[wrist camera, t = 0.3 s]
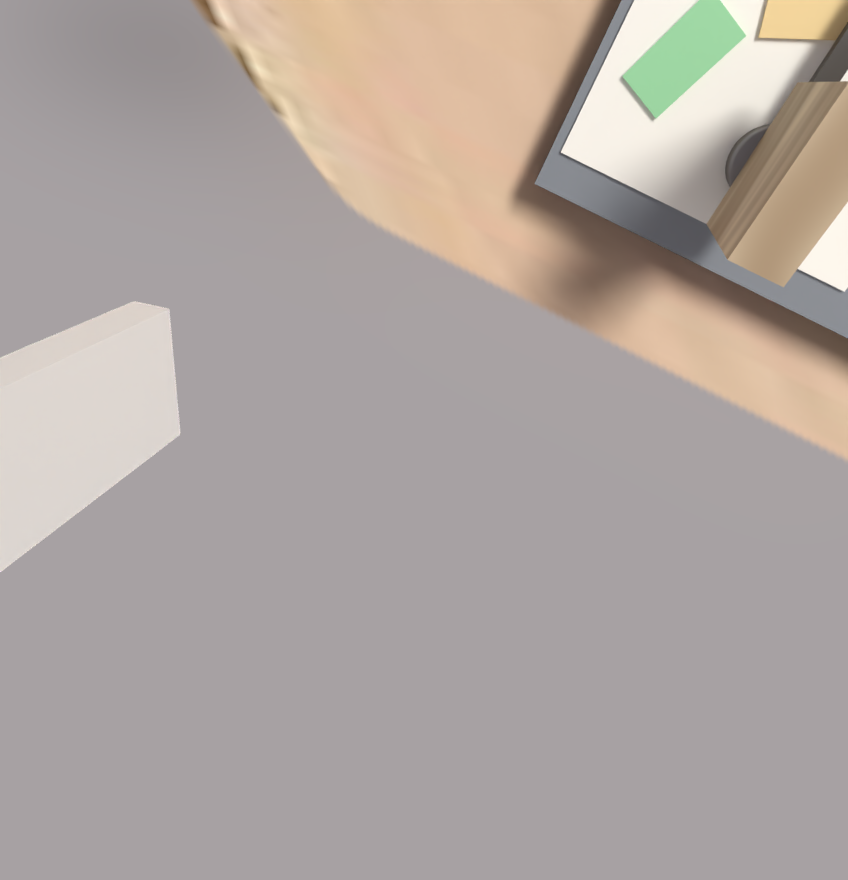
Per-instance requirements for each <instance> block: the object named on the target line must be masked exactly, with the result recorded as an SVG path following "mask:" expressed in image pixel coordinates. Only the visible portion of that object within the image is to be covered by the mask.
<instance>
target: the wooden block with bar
mask: <svg viewBox="0 0 848 880" xmlns="http://www.w3.org/2000/svg"><path fill="white" fill-rule="evenodd" d="M847 70H848V22H847V24H846V25H845V27H844V29H843V30H842V32H841V33H840V35H839V36H838V38H837V39H836V41H835V42H834V44H833V45H832V47H831V48H830V50H829V52H828V53H827V55H826V56H825V58H824V59H823V61H822V62H821V64H820V65H819V67H818V68H817V70H816V71H815V73H814V75H813V76H812V78H811V79H810V81H809V82H797V84H796V86H795V87H794V89H793V90H792V92H791V93H790V95H789V96H788V98H787V100H786V101H785V103H784V104H783V106H782V107H781V109H780V110H779V112H778V114H777V115H776V117H775V118H774V120H773V121H772V123H771V124H768V125H763V126H760V127H757V128H755V129H752V130H751V131H749V132H747V133H746V134H745V135H743V136H742V137H741V138H740V139H739V140H738V141H737V142H736V143H735V145H734V146H733V148H732V149H731V151H730V153H729V155H728V158H727V161H726V167H725V175H726V180H727V183H728V185H729V187H730V188H729V190H728V191H727V193H726V194H725V196H724V198H723V199H722V201H721V202H720V204H719V205H718V207H717V208H716V210H715V212H714V213H713V215H712V216H711V218H710V219H709V221H708V222H707V226H708V227H709V229H710V231H711V233H712V234H713V236H714V238H715V239H716V241H717V243H718V245H719V246H720V248H721V250H722V251H723V253H724V255H725V257H726V258H727V260H729V261H731V262H733V263H735V264H737V265H739V266H741V267H743V268H745V269H747V270H749V271H751V272H753V273H755V274H757V275H759V276H761V277H763V278H765V279H767V280H769V281H771V282H774V283H776V284H778V285H780V286H782V287H784V286H785V285H786V283H787V282H788V281H789V279H790V278H791V277H792V275H793V274H794V273H795V271H796V270H797V269H798V267H799V266H800V265H801V264H802V262H803V261H804V260H805V258H806V257H807V256H808V254H809V253H810V252H811V250H812V249H813V248H814V246H815V245H816V244H817V242H818V241H819V240H820V238H821V237H822V236H823V234H824V233H825V232H826V230H827V229H828V228H829V226H830V225H831V224H832V222H833V221H834V220H835V218H836V217H837V216H838V214H839V213H840V212H841V210H842V209H843V208H844V206H845V205H846V204H847V202H848V81H841V79H842V78H843V76H844V75H845V73H846V72H847Z"/></svg>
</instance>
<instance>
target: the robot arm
mask: <svg viewBox="0 0 848 880" xmlns="http://www.w3.org/2000/svg"><path fill="white" fill-rule="evenodd" d="M179 435H180V422H179V413H178V401H177V390H176V379H175V368H174V357H173V346H172V335H171V325H170V313H169V309H168V308H163V307H158V306H154V305H149V304H144V303H139V302H135V301H133V302H131V303H128V304H126V305H124V306H122V307H119V308H117V309H114V310H112V311H109V312H107V313H105V314H102V315H100V316H98V317H95V318H93V319H90V320H88V321H86V322H83V323H81V324H79V325H76V326H74V327H71V328H69V329H67V330H64V331H62V332H60V333H57V334H55V335H52V336H50V337H48V338H45V339H43V340H41V341H38V342H36V343H33V344H31V345H29V346H27V347H24V348H22V349H19V350H17V351H15V352H12V353H10V354H7V355H5V356H3V357H1V358H0V572H1V571H2V570H4V569H5V568H6V567H8V566H9V565H10V564H12V563H13V562H14V561H16V559H18V558H19V557H21V556H22V555H23V554H25V553H26V552H27V551H28V550H30V549H31V548H33V547H34V546H35V545H36V544H38V543H39V542H40V541H41V540H43V539H44V538H45V537H47V536H48V535H49V534H51V533H52V532H53V531H55V530H56V529H57V528H59V527H60V526H61V525H63V524H64V523H65V522H66V521H68V520H69V519H70V518H72V517H73V516H74V515H76V514H77V513H78V512H79V511H81V510H82V509H83V508H84V507H86V506H87V505H89V504H90V503H91V502H92V501H94V500H95V499H97V498H98V497H99V496H100V495H102V494H103V493H104V492H106V491H107V490H108V489H110V488H111V487H112V486H113V485H115V484H116V483H117V482H119V481H120V480H121V479H123V478H124V477H125V476H127V475H128V474H129V473H131V472H132V471H133V470H134V469H136V468H137V467H138V466H140V465H141V464H142V463H144V462H145V461H146V460H147V459H149V458H150V457H151V456H153V455H154V454H155V453H157V452H158V451H159V450H160V449H162V448H163V447H165V446H166V445H167V444H168V443H170V442H171V441H172V440H174V439H175V438H176V437H178V436H179Z"/></svg>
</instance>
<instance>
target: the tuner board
mask: <svg viewBox="0 0 848 880" xmlns="http://www.w3.org/2000/svg"><path fill="white" fill-rule="evenodd" d="M847 22H848V0H621V2H620V4H619V7H618V9H617V11H616V13H615V15H614V17H613V19H612V21H611V23H610V26H609V28H608V30H607V32H606V34H605V36H604V38H603V40H602V42H601V44H600V47H599V49H598V51H597V53H596V55H595V57H594V59H593V61H592V63H591V66H590V68H589V70H588V72H587V74H586V76H585V78H584V80H583V82H582V85H581V87H580V89H579V91H578V93H577V95H576V97H575V99H574V101H573V104H572V106H571V108H570V110H569V112H568V114H567V116H566V118H565V120H564V123H563V125H562V127H561V129H560V131H559V133H558V135H557V137H556V139H555V141H554V144H553V146H552V148H551V150H550V152H549V154H548V156H547V158H546V160H545V163H544V165H543V167H542V169H541V171H540V173H539V175H538V177H537V179H536V182H535V184H536V185H538V186H540V187H542V188H544V189H546V190H548V191H550V192H552V193H554V194H556V195H558V196H560V197H562V198H564V199H566V200H568V201H570V202H572V203H574V204H576V205H579V206H581V207H583V208H585V209H587V210H589V211H591V212H593V213H595V214H597V215H599V216H601V217H603V218H605V219H607V220H609V221H611V222H613V223H615V224H617V225H619V226H621V227H623V228H625V229H627V230H629V231H631V232H633V233H635V234H637V235H639V236H641V237H643V238H645V239H647V240H649V241H651V242H653V243H656V244H658V245H660V246H662V247H664V248H666V249H668V250H670V251H672V252H674V253H676V254H678V255H680V256H682V257H684V258H686V259H688V260H690V261H692V262H694V263H696V264H698V265H700V266H702V267H704V268H706V269H708V270H710V271H712V272H714V273H716V274H718V275H720V276H722V277H724V278H726V279H728V280H730V281H733V282H735V283H737V284H739V285H741V286H743V287H745V288H747V289H749V290H751V291H753V292H755V293H757V294H759V295H761V296H763V297H765V298H767V299H769V300H771V301H773V302H775V303H777V304H779V305H781V306H783V307H785V308H787V309H789V310H791V311H793V312H795V313H797V314H799V315H801V316H803V317H805V318H807V319H810V320H812V321H814V322H816V323H818V324H820V325H822V326H824V327H826V328H828V329H830V330H832V331H834V332H836V333H838V334H840V335H842V336H844V337H846V338H848V202H847V204H846V205H845V206H844V208H843V209H842V210H841V212H840V213H839V214H838V216H837V217H836V218H835V220H834V221H833V222H832V224H831V225H830V226H829V228H828V229H827V230H826V232H825V233H824V234H823V236H822V237H821V238H820V240H819V241H818V242H817V244H816V245H815V246H814V248H813V249H812V250H811V252H810V253H809V254H808V256H807V257H806V258H805V260H804V261H803V262H802V264H801V265H800V266H799V267H798V269H797V270H796V271H795V273H794V274H793V275H792V277H791V278H790V279H789V281H788V282H787V283H786V285H785V286H784V287H782V286H780V285H778V284H776V283H774V282H771V281H769V280H767V279H765V278H763V277H761V276H759V275H757V274H755V273H753V272H751V271H749V270H747V269H745V268H743V267H741V266H739V265H737V264H735V263H733V262H731V261H729V260H727V258H726V257H725V255H724V253H723V251H722V250H721V248H720V246H719V245H718V243H717V241H716V239H715V238H714V236H713V234H712V233H711V231H710V229H709V227H708V226H707V222H708V221H709V219H710V218H711V216H712V215H713V213H714V212H715V210H716V208H717V207H718V205H719V204H720V202H721V201H722V199H723V198H724V196H725V194H726V193H727V191H728V190H729V188H730V187H729V185H728V183H727V180H726V175H725V167H726V161H727V158H728V155H729V153H730V151H731V149H732V148H733V146H734V145H735V143H736V142H737V141H738V140H739V139H740V138H741V137H742V136H743V135H745V134H746V133H747V132H749V131H751V130H752V129H755V128H757V127H760V126H763V125H768V124H771V123H772V121H773V120H774V118H775V117H776V115H777V114H778V112H779V110H780V109H781V107H782V106H783V104H784V103H785V101H786V100H787V98H788V96H789V95H790V93H791V92H792V90H793V89H794V87H795V86H796V84H797V82H809V81H810V79H811V78H812V76H813V75H814V73H815V71H816V70H817V68H818V67H819V65H820V64H821V62H822V61H823V59H824V58H825V56H826V55H827V53H828V52H829V50H830V48H831V47H832V45H833V44H834V42H835V41H836V39H837V38H838V36H839V35H840V33H841V32H842V30H843V29H844V27H845V25H846V24H847ZM841 81H848V70H847V72H846V73H845V75H844V76H843V78H842V79H841Z"/></svg>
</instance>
